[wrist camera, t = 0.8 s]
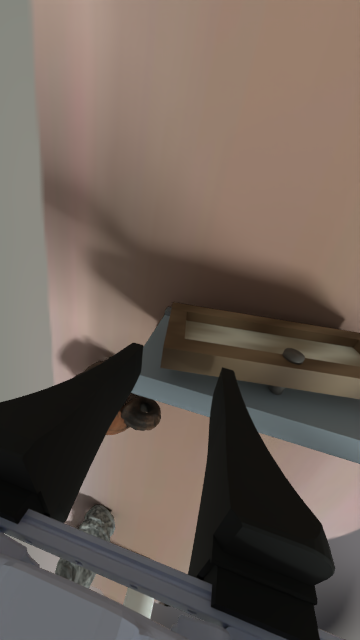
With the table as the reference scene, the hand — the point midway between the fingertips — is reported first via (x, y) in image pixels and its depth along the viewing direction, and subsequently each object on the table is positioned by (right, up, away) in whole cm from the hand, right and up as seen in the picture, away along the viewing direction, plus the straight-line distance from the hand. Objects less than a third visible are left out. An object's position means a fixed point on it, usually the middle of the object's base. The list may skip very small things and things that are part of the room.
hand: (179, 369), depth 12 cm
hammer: (-24, -53, +48) cm, 76 cm away
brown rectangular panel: (+7, +2, +6) cm, 10 cm away
